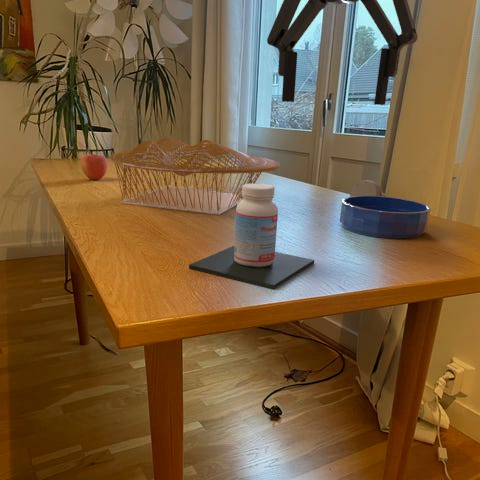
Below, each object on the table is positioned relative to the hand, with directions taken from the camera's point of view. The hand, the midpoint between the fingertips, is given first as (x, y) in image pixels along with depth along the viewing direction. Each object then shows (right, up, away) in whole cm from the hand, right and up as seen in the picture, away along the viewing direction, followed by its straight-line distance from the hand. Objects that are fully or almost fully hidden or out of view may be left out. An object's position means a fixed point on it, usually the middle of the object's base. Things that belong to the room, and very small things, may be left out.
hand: (331, 103), depth 67 cm
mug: (+18, -4, +48) cm, 51 cm away
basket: (-24, -2, +49) cm, 54 cm away
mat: (-11, -23, +5) cm, 26 cm away
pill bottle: (-11, -22, +5) cm, 25 cm away
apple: (-55, +10, +70) cm, 90 cm away
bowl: (+16, -12, +31) cm, 37 cm away
